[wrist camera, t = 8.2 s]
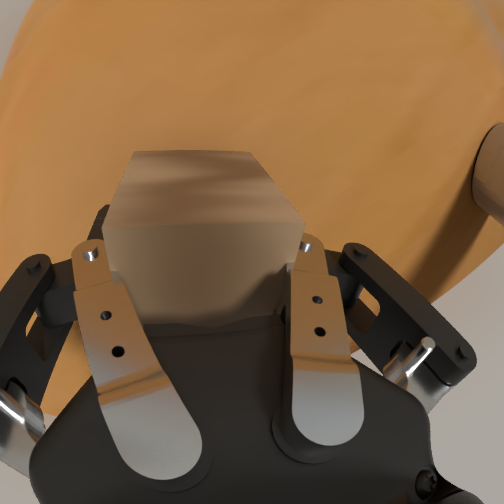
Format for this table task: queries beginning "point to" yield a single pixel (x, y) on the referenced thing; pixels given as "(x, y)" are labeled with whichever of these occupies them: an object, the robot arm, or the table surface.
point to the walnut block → (200, 237)
